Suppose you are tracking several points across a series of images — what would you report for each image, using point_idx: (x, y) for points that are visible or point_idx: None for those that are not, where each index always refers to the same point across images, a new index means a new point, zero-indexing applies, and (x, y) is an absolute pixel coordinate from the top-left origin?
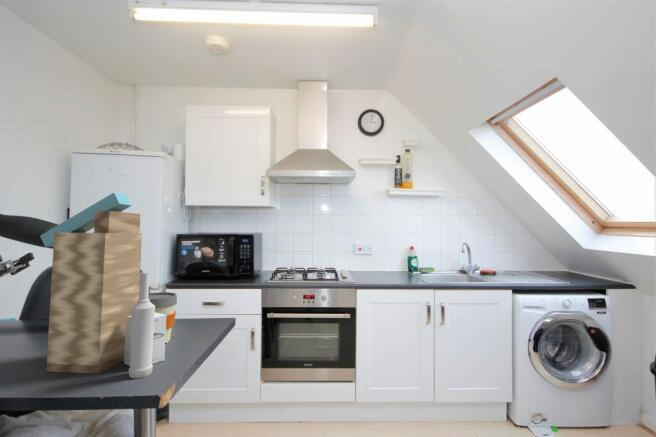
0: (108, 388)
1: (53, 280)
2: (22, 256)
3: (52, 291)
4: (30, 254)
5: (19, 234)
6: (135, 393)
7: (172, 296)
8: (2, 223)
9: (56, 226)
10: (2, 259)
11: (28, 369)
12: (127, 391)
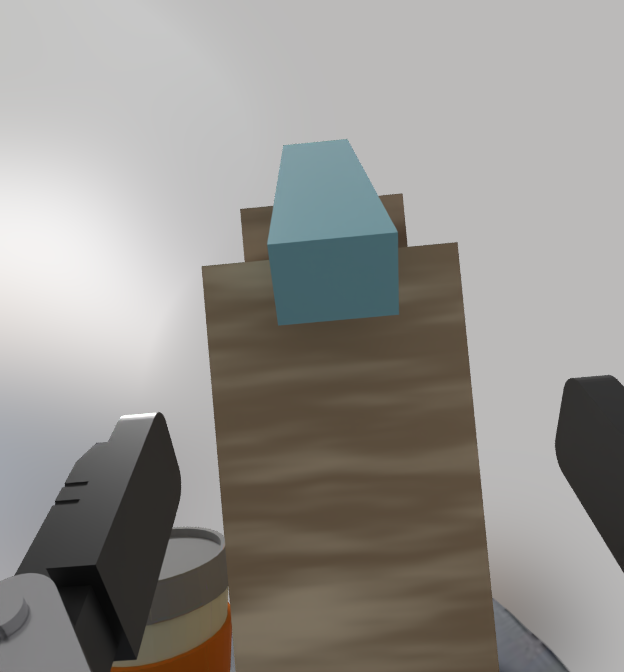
0: (507, 653)
1: (476, 467)
2: (119, 502)
3: (482, 518)
4: (168, 434)
5: None
6: (498, 612)
7: (178, 527)
8: None
9: (378, 199)
10: (555, 441)
11: None
12: (498, 624)
